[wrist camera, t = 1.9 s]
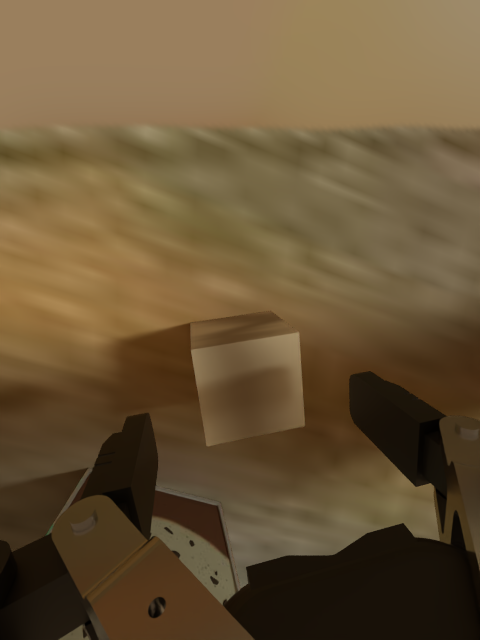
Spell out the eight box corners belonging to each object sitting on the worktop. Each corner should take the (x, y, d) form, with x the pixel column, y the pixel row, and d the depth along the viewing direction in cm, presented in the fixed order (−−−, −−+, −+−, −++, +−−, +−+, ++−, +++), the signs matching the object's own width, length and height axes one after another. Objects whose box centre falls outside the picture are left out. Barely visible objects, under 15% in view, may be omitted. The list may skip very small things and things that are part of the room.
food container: (31, 539, 19) (-123, 823, 10) (63, 461, 18) (-71, 692, 9) (204, 572, 22) (216, 814, 13) (239, 507, 22) (279, 714, 12)
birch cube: (270, 310, 19) (298, 332, 14) (276, 383, 20) (305, 426, 15) (190, 322, 18) (190, 349, 13) (202, 396, 19) (206, 446, 14)
